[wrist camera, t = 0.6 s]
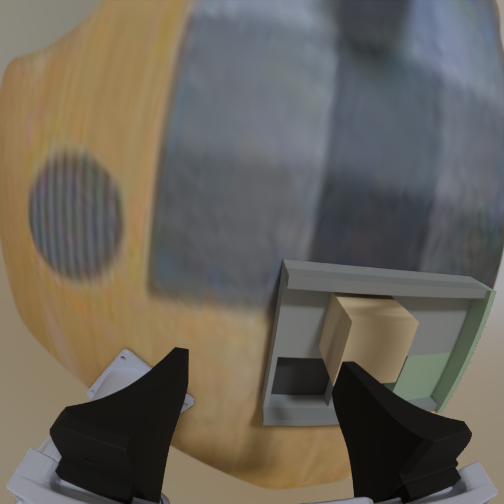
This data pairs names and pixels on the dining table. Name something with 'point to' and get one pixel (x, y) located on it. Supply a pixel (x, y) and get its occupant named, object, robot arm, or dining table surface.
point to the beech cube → (366, 334)
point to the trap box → (419, 355)
